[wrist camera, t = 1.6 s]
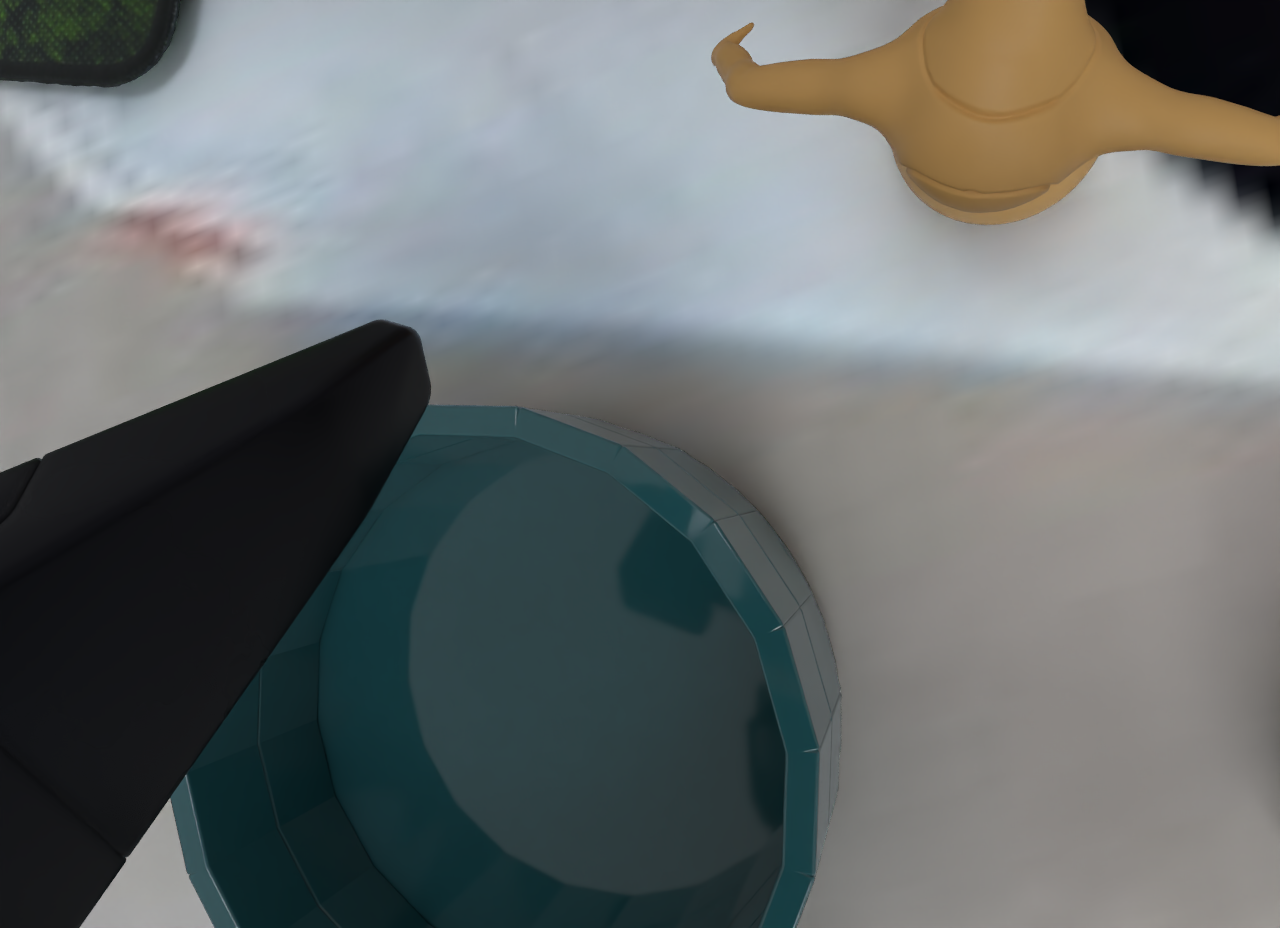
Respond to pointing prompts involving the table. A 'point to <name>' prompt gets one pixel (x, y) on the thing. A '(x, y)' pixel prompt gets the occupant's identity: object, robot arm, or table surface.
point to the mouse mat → (83, 40)
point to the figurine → (1002, 105)
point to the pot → (531, 703)
